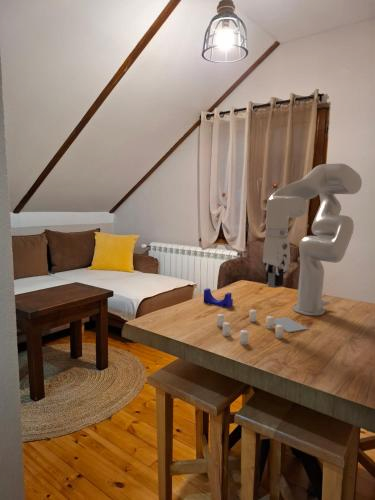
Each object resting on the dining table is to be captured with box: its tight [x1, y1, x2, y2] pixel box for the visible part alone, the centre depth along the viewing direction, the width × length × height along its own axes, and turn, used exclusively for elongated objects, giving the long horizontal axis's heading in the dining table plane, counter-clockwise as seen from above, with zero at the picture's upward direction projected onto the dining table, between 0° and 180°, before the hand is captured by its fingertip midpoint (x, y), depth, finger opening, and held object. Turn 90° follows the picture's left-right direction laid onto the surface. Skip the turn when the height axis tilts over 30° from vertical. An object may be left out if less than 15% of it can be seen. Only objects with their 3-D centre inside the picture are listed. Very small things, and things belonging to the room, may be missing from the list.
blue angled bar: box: [203, 287, 234, 309], centre depth 151 cm, size 12×4×6 cm, turn 56°
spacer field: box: [216, 309, 284, 346], centre depth 122 cm, size 21×19×4 cm
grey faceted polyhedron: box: [266, 270, 282, 289], centre depth 123 cm, size 5×4×5 cm
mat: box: [274, 317, 309, 334], centre depth 129 cm, size 9×12×1 cm
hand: (274, 283), depth 124 cm, fingers closed on grey faceted polyhedron, 4 cm apart
